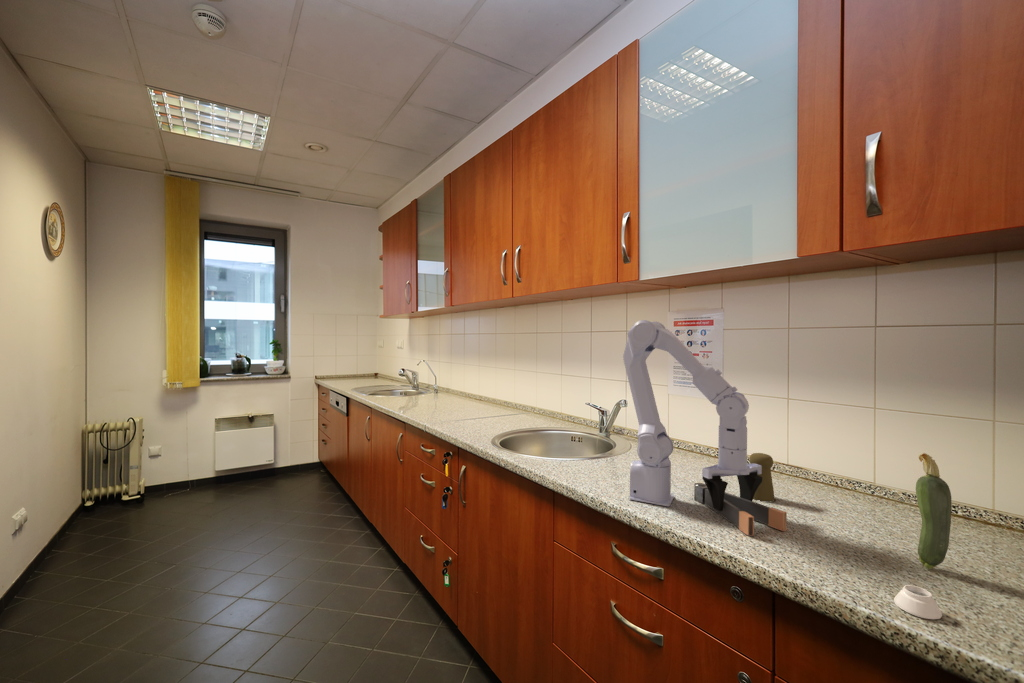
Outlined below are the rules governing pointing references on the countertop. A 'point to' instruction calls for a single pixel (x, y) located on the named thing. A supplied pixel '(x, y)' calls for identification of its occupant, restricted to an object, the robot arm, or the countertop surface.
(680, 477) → the countertop surface
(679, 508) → the countertop surface
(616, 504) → the countertop surface
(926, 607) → the upside-down white bowl
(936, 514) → the vegetable
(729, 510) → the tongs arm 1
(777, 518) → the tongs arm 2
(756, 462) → the cork
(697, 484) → the tongs hub
